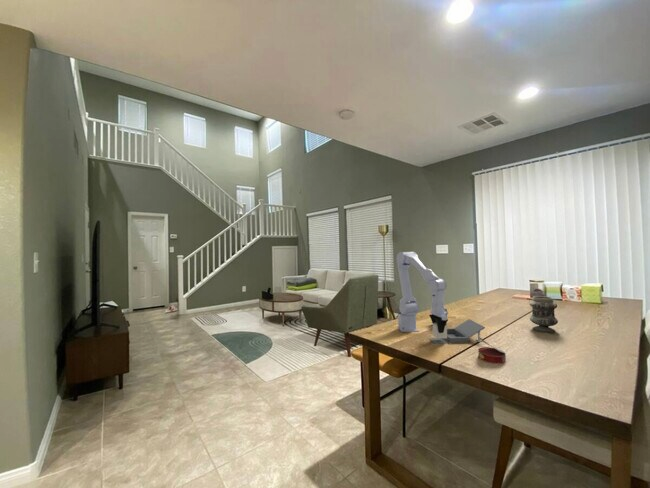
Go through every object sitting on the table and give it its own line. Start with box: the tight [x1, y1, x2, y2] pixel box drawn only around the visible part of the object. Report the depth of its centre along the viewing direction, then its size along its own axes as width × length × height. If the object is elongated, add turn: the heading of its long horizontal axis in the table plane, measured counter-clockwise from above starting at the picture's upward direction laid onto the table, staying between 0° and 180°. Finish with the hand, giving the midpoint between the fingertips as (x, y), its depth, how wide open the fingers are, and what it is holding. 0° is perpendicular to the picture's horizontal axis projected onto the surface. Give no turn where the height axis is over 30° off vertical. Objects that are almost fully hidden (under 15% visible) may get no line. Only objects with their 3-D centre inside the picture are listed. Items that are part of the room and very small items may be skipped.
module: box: [432, 323, 448, 339], centre depth 137 cm, size 5×5×6 cm
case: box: [444, 318, 486, 344], centre depth 141 cm, size 17×14×7 cm
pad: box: [428, 337, 449, 345], centre depth 137 cm, size 7×7×1 cm
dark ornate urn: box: [529, 295, 559, 334], centre depth 150 cm, size 12×12×18 cm
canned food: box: [477, 337, 507, 364], centre depth 116 cm, size 11×10×10 cm
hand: (438, 330), depth 137 cm, fingers closed on module, 5 cm apart
